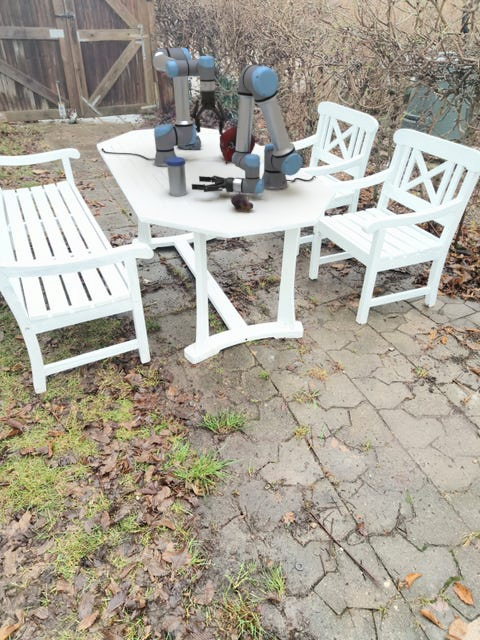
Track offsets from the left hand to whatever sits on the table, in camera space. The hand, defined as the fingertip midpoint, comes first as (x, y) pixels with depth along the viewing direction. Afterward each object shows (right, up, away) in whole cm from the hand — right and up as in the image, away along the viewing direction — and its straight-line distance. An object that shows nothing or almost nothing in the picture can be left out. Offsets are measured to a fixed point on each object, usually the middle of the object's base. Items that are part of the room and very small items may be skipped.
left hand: (209, 133), depth 247 cm
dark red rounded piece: (+15, +5, +55) cm, 57 cm away
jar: (-17, -33, -1) cm, 38 cm away
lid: (-17, -19, -11) cm, 28 cm away
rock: (+17, -48, -22) cm, 55 cm away
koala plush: (-21, +24, +82) cm, 88 cm away
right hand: (-7, -29, -7) cm, 31 cm away
